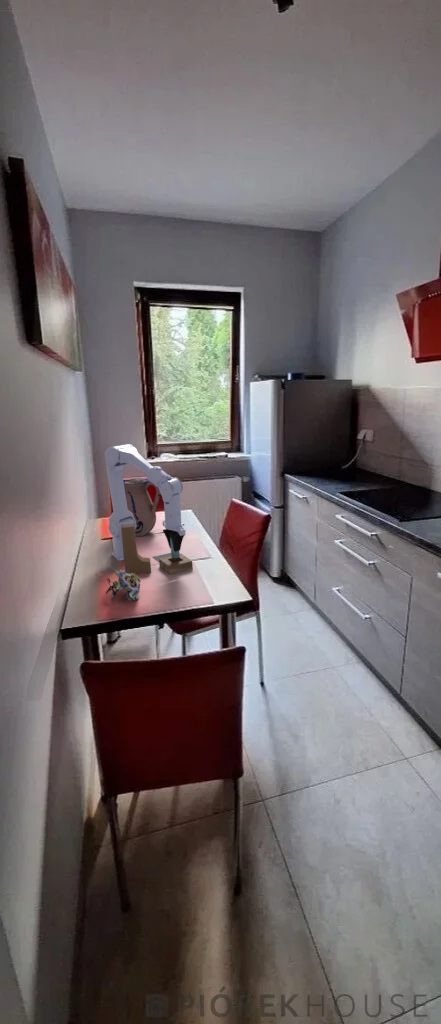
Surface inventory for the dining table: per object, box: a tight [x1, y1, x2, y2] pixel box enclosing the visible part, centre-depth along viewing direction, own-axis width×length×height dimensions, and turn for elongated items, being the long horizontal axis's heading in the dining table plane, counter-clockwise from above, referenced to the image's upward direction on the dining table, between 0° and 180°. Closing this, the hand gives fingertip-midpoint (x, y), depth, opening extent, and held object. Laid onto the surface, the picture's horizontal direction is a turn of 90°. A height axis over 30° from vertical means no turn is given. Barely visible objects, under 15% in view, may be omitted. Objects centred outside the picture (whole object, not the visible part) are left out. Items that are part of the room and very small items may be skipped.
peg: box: [170, 532, 181, 558], centre depth 153 cm, size 3×3×9 cm
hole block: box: [158, 553, 194, 575], centre depth 155 cm, size 9×9×4 cm
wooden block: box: [121, 524, 152, 575], centre depth 150 cm, size 9×4×18 cm, turn 101°
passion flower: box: [105, 569, 141, 602], centre depth 133 cm, size 11×11×12 cm
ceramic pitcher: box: [123, 477, 161, 537], centre depth 192 cm, size 18×21×25 cm
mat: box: [152, 552, 171, 563], centre depth 165 cm, size 8×8×1 cm
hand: (174, 549), depth 153 cm, fingers closed on peg, 3 cm apart
